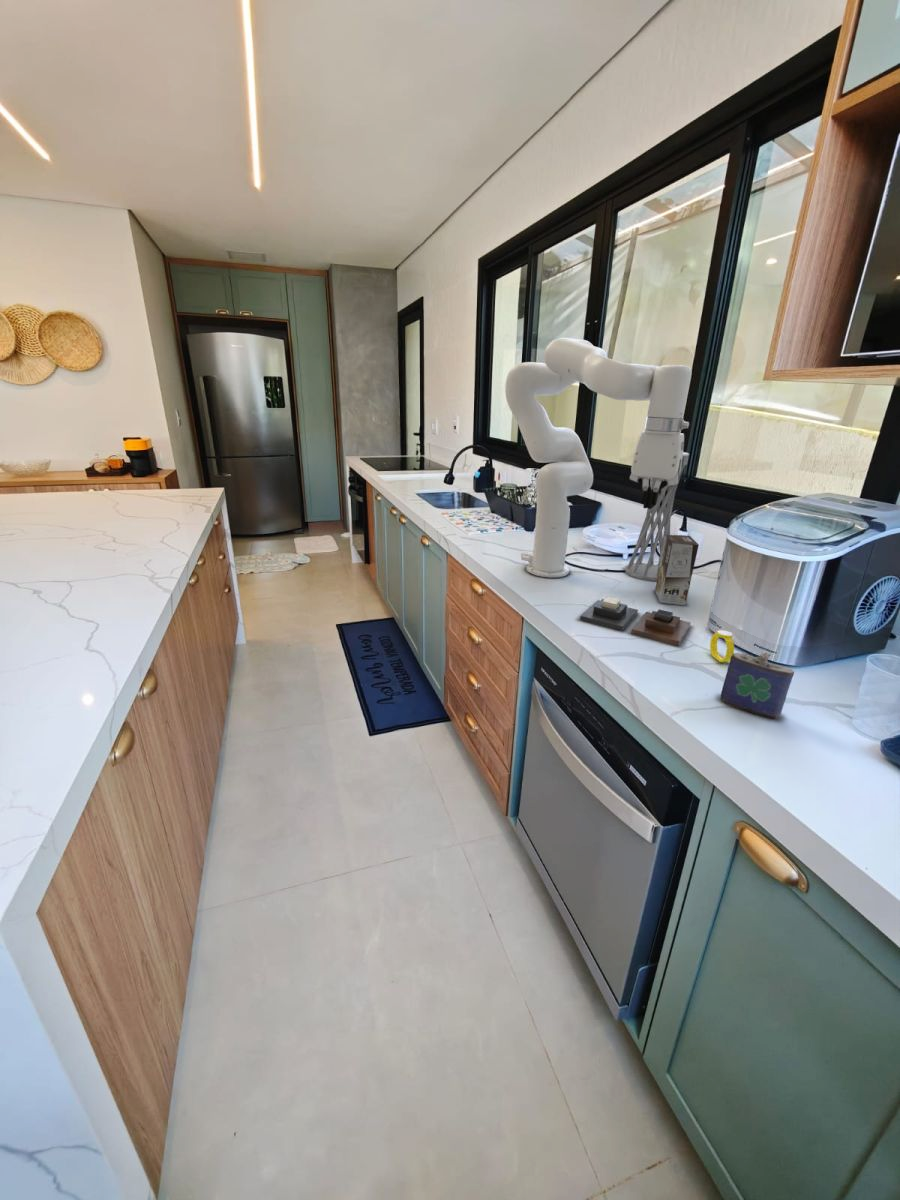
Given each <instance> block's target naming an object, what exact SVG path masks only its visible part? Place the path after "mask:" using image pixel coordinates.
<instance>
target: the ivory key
mask: <svg viewBox="0 0 900 1200" xmlns="http://www.w3.org/2000/svg"><path fill="white" fill-rule="evenodd" d="M604 599H605V600H603V603H602V607H605V608H610V609H614V610H616V609H617V608H618V607H619V605H620V603H621V600H620V599H617V598H613V597H609V596H608V597H606V598H604Z"/></svg>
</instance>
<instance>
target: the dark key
mask: <svg viewBox="0 0 900 1200" xmlns="http://www.w3.org/2000/svg"><path fill="white" fill-rule="evenodd" d="M673 616H674V612H673V611H669V610H665V609H661V608H659V609H657V611H656V613H655V618H654V620H658V621H662V622H667V623H670V622H671V620H672V617H673Z"/></svg>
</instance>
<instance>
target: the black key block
mask: <svg viewBox="0 0 900 1200" xmlns="http://www.w3.org/2000/svg"><path fill="white" fill-rule="evenodd" d="M605 599H606V598H602V599H601V600H599V599H597V600H596V601H595V602H594V603H593V604H592V605H591V606H589V608H587V609H586V611H584V612H582V614H580V617H579V621H582V622H585V623H590V624H593V625H596V626H601V627H605V628H608V629H613V630H615V631H619V632H623V631H624V630H625V629H626V628H627V626H628V625H629V624H630V623H631V622H632V620H634V618H635V617H636V616H637V615H638V611H639V609H637V608H632V607H628V604H626V603H622V602H620V605H619V607H618V608H617V609H616V610H614V609H610V608H605V607H602V603H603V600H605Z"/></svg>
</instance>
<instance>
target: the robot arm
mask: <svg viewBox="0 0 900 1200" xmlns="http://www.w3.org/2000/svg"><path fill="white" fill-rule="evenodd" d="M543 360H544V362H536V361H524V362H520V363H517V364H516V365H514V366H513V367H512V368H511V369H510V370H509V371H508V373H507V376H506V379H505V385H504V386H505V387H504V389H505V390H504V393H505V398H506V402H507V405H508V407H509V410H510V411H511V413H512V415H513V417H514V419H515V421H516V423H517V426H518V428H519V431H520V433H521V436H522V439H523V441H524V444H525V447H526V449H527V451H528V454H529V456H530V457H531V459H532V460H533V461H534V462H536V463H539V464H541V463H542V464H544V463H546V464H545V465H544V466H542V467H541V468H540V469H539V470H538V472H537V473H536V476H535V492H536V511H535V526H534V538H533V550H532V553H530V552H525V551H522V553H521V555H520V557H521V561H524V562H528V564H526V572H528V573H530V574H532V575H534V576H536V577H537V576H538V577H542V578H553V579H554V578H562V577H565V576H567V575H569V573H570V567H569V566H568V565H566V564H565V563H566V554H567V548H568V547H567V546H568V537H569V529H570V520H571V509H570V505H569V503H568V497H572V496H579V495H582V494H586V493H588V491H590V489H591V488H592V486H593V484H594V472H593V468H592V466H591V463H590V460H589V458H588V456H587V453H586V451H585V448H584V445H583V442H582V441H581V439H580V437H579V434H577V433H576V432H575V431H574V430H573V429H572V428H570V427H564V426H562V427H561V426H560V427H559V426H558V427H555V426H554V425H553V424H552V422H551V420H550V418H549V415H548V413H547V410H546V409H545V407H544V406H543V405H542V404H541V402H539V401H538V399H537V398H536V396H542V397H543V396H545V397H547V396H549V397H550V396H551V397H552V396H556V395H559V394H561V393H562V392H564V391H565V390H567V389H568V388H569V387H571V386H573V385H574V384H575V383H577V382H578V383H581V384H584V385H585V386H586V387H587V389H589V390H590V391H592V392H595V393H597V394H599V395H601V396H604V397H608V398H609V399H613V400H617V401H636V402H638V401H639V402H643V401H644V402H645V401H648V408H647V413H646V419H645V426H644V430H643V431H641V432H640V434H639V437H638V441H637V444H636V447H635V451H634V454H633V458H632V461H631V468H630V472H631V473H630V475H629V480H630V481H633V482H635V483H638V485H639V486H640V487H641V489H642V491H643V494H642V500H641V504H642V505H643V509H647V508H648V509H651V508H653V507H655V505H656V503H657V498H658V493H659V494H660V492H661V489H662V488H664V487H665V486H670V485H676V484H678V485H679V483H678V476H679V474H680V470H681V464H682V457H683V452H684V449H685V448H684V446H685V433H681V431H682V430H685V429H689V426H690V422H689V421H686V420H684V414H685V410H686V405H687V399H688V396H689V395H688V394H689V391H690V390H689V389H690V386H691V385H690V384H691V380H692V375H693V373H692V369H691V367H690V366H688V365H685V364H684V365H683V364H664V365H663V364H662V365H652V364H640V363H627V362H623V361H619V360H615V359H612V358H609V357H608V354H607V352H606V350H605V349H603V348H602V347H599V346H594V345H593V343H591V342H590V341H588V340H586V339H580V338H572V337H558V338H556V339H554V340H552V341H551V342H550V343H548V344H547V346H546V348H545V350H544V353H543ZM547 463H548V464H547ZM651 478H656V482H655V485H654V488H653V489H652V490H651ZM670 479H671V480H670Z"/></svg>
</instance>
